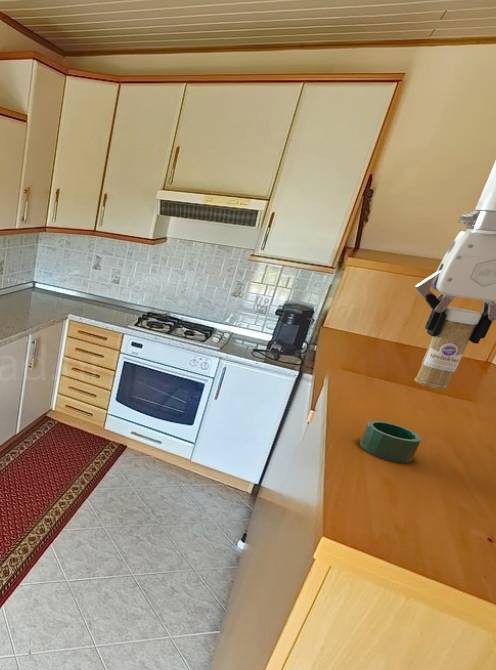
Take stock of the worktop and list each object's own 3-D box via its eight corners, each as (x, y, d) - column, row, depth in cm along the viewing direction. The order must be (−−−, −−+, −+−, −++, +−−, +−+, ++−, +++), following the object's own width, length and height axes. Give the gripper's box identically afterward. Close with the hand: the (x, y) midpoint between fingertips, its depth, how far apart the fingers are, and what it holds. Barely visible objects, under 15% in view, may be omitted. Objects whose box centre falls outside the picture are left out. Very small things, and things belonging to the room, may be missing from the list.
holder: (405, 449, 94) (415, 428, 93) (416, 467, 88) (427, 445, 86) (356, 436, 98) (364, 416, 96) (363, 453, 91) (372, 432, 89)
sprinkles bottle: (420, 386, 83) (454, 310, 78) (409, 378, 87) (440, 304, 83) (453, 392, 82) (489, 315, 77) (439, 383, 86) (473, 309, 81)
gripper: (440, 219, 75) (394, 332, 82) (592, 233, 68) (529, 355, 75) (426, 218, 82) (384, 323, 88) (564, 231, 75) (508, 343, 81)
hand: (451, 336), depth 81 cm, fingers closed on sprinkles bottle, 4 cm apart
